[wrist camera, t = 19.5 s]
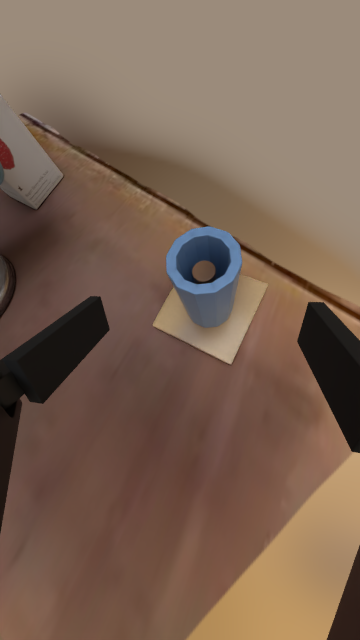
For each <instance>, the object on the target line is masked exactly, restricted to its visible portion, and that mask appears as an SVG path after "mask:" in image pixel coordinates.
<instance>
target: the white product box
mask: <svg viewBox="0 0 360 640" xmlns="http://www.w3.org/2000/svg"><path fill="white" fill-rule="evenodd" d="M0 162H1V164H2V167H3V170H4V181H3V183H2V184H1V185H0V188H1V189H2V190H3V191H4V192H5V193H6V194H7V195H9V196H10V197H12V198H14V199H16V200H18V201H20V202H22V203H24V204H26V205H28V206H30V207H32V208H34V209H36V210H37V209H38V207H39V206H40V205H41V204H42V202H43V201H44V200H45V199H46V197H47V196H48V195H49V194H50V193H51V191H52V190H53V189H54V188H55V186H56V185H57V184H58V183H59V181H60V180H61V179H62V178H63V176H64V175H63V174H62V173H61V172H60V170H59V169H58V168H57V166H56V165H55V164H54V163H53V161H52V160H51V159H50V157H49V156H48V155H47V154H46V152H45V151H44V150H43V148H42V147H41V146H40V144H39V143H38V142H37V141H36V139H35V138H34V137H33V135H32V134H31V133H30V132H29V130H28V129H27V128H26V126H25V125H24V124H23V123H22V121H21V120H20V119H19V117H18V116H17V115H16V113H15V112H14V111H13V110H12V108H11V107H10V106H9V104H8V103H7V102H6V101H5V99H4V98H3V97H2V95H1V94H0Z"/></svg>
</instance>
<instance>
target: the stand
mask: <svg viewBox="0 0 360 640" xmlns="http://www.w3.org/2000/svg"><path fill="white" fill-rule="evenodd" d="M192 275H193V279H194V282H195V284H206V283H212V282H214V281H215V280H216V268H215V266H214V264H213V263H211V262H210V261H205V260H204V261H200V262H198V263H196V264H195V265H194V267H193V269H192ZM267 286H268V284H267V283H264V282H261V281H259V280H256V279H253V278H250V277H248V276H245V275H242V274H240V275H239V280H238V285H237V290H236V294H235V299H234V304H233V308H232V311H231V313H230V315H229V318H228V319H227V321H225V322H224V323H222V324H221V325H219V326H218V327H208V328H205V327H202V326H200V325H198V324H196V323H194V322H193V321H192V319H191V318H190V316H189V315H188V313H187V311H186V309H185V307H184V305H183V303H182V301H181V299H180V298H179V296H178V294H177V292H176V290H175V288H174V286H173V288H172V290H171V292H170V294H169V295H168V297H167V299H166V301H165V303H164V305H163V306H162V308H161V310H160V312H159V314H158V316H157V317H156V319H155V321H154V323H153V326H154V327H155V328H157V329H159V330H161V331H163V332H165V333H167V334H169V335H171V336H173V337H175V338H177V339H179V340H181V341H183V342H185V343H187V344H189V345H191V346H193V347H195V348H197V349H199V350H201V351H203V352H205V353H207V354H209V355H211V356H213V357H215V358H217V359H219V360H221V361H223V362H225V363H227V364H229V365H231V364H232V362H233V360H234V358H235V355H236V353H237V351H238V349H239V347H240V345H241V343H242V340H243V338H244V336H245V334H246V332H247V330H248V327H249V325H250V323H251V321H252V319H253V317H254V315H255V312H256V310H257V308H258V306H259V304H260V302H261V299H262V297H263V295H264V293H265V291H266V289H267Z"/></svg>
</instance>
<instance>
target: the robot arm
mask: <svg viewBox="0 0 360 640" xmlns="http://www.w3.org/2000/svg"><path fill="white" fill-rule="evenodd" d="M3 181H4V170H3V167H2V164H1V162H0V185H1V184H2V183H3ZM14 287H15V272H14V269H13V266H12V264H11V263H10V262H9V261H8V260H7V259H6V258H5V257H3V256H1V255H0V316H1V314H2V313H3V312H4V310H5V309H6V307H7V306H8V304H9V302H10V300H11V297H12V295H13V291H14ZM109 330H110V329H109V325H108V322H107V318H106V315H105V311H104V308H103V304H102V301H101V297H97V296H90V297H89V298H88V299H86V300H85V301H83V302H82V303H80V304H79V305H78V306H76V307H75V308H73V309H72V310H71V311H69V312H68V313H66V314H65V315H64V316H62V317H61V318H59V319H58V320H57V321H55V322H54V323H52V324H51V325H49V326H48V327H47V328H45V329H44V330H42V331H41V332H40V333H38V334H37V335H35V336H34V337H32V338H31V339H30V340H28V341H27V342H25V343H24V344H23V345H21V346H20V347H18V348H17V349H16V350H14V351H13V352H11V353H10V354H8V355H7V356H6V357H4V358H3V359H1V360H0V532H1V526H2V520H3V514H4V508H5V503H6V497H7V491H8V485H9V479H10V473H11V467H12V461H13V455H14V449H15V443H16V437H17V431H18V425H19V419H20V413H21V407H22V402H21V400H20V399H19V398H20V397H21V396H22V395H23V394H24V393H25V395H26V396H27V398H28V399H29V401H30V402H35V403H42V404H43V403H44V402H45V401H46V400H47V399H48V398H49V397H50V395H51V394H52V393H53V392H54V391H55V390H56V389H57V388H58V387H59V385H60V384H61V383H62V382H63V381H64V380H65V379H66V378H67V377H68V375H69V374H70V373H71V372H72V371H73V370H74V369H75V368H76V367H77V365H78V364H79V363H80V362H81V361H82V360H83V359H84V358H85V357H86V355H87V354H88V353H89V352H90V351H91V350H92V349H93V348H94V347H95V345H96V344H97V343H98V342H99V341H100V340H101V339H102V338H103V337H104V336H105V334H106V333H107V332H108V331H109ZM297 342H298V344H299V346H300V348H301V350H302V352H303V354H304V356H305V358H306V360H307V362H308V364H309V366H310V368H311V370H312V372H313V374H314V376H315V378H316V380H317V382H318V384H319V386H320V388H321V390H322V392H323V394H324V396H325V398H326V400H327V402H328V404H329V406H330V408H331V410H332V412H333V414H334V416H335V418H336V420H337V422H338V424H339V427H340V429H341V431H342V433H343V435H344V437H345V439H346V441H347V443H348V445H349V447H350V449H351V451H352V452H358V453H360V340H359V339H358V338H357V337H356V336H355V335H354V334H353V333H352V332H351V331H350V330H349V329H348V328H347V327H346V326H345V325H344V323H343V322H342V321H341V320H340V319H339V318H338V317H337V316H336V315H335V314H334V313H333V312H332V311H331V310H330V309H329V308H328V307H327V305H326V304H325V303H324V302H308V306H307V309H306V313H305V316H304V320H303V323H302V327H301V330H300V334H299V337H298V341H297ZM327 640H360V546H359V549H358V552H357V555H356V557H355V560H354V563H353V566H352V569H351V572H350V575H349V578H348V580H347V583H346V586H345V589H344V592H343V595H342V598H341V601H340V603H339V606H338V609H337V612H336V615H335V618H334V621H333V624H332V626H331V629H330V632H329V635H328V638H327Z"/></svg>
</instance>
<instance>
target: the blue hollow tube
mask: <svg viewBox="0 0 360 640" xmlns="http://www.w3.org/2000/svg"><path fill="white" fill-rule="evenodd" d="M204 260H205V261H210V262H211V263H213V264H214V266H215V268H216V280H215V281H214V282H212V283H206V284H195V282H194V279H193V275H192V269H193V267H194V265H195V264H196V263H198V262H200V261H204ZM166 264H167V274H168V276H169V278H170V280H171V282H172V284H173V286H174V288H175V290H176V292H177V294H178V296H179V298H180V299H181V301H182V303H183V305H184V307H185V309H186V311H187V313H188V315H189V316H190V318H191V319H192V321H193V322H194V323H196V324H198V325H200V326H202V327H205V328H208V327H218V326H219V325H221V324H222V323H224V322H225V321H227V319H228V318H229V315H230V313H231V311H232V308H233V304H234V299H235V294H236V290H237V285H238V280H239V275H240V271H241V266H242V257H241V250H240V246H239V244H238V243H237V242H236V240H235V239H234V238H233V237H232V236H231V235H230V234H229V233H228V232H226V231H223V230H220V229H216V228H213V227H210V226H208V227H202V228H195V229H191V230H189V231H188V232H186V233H185V234H183V235H182V236H180V237H179V238H177V239H176V240H175V241H174V243H173V245H172V247H171V248H170V250H169V252H168V254H167V256H166Z"/></svg>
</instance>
